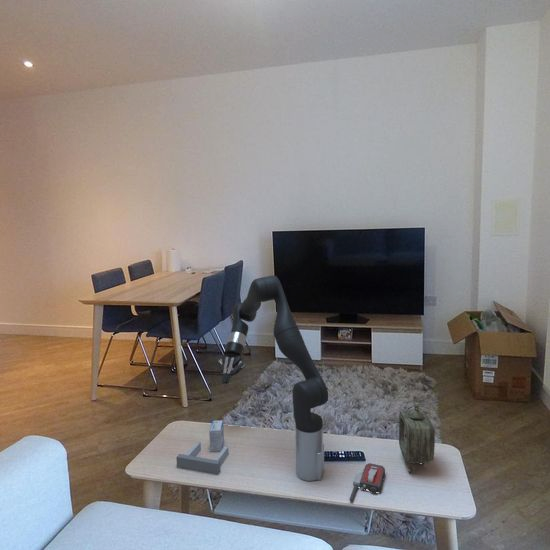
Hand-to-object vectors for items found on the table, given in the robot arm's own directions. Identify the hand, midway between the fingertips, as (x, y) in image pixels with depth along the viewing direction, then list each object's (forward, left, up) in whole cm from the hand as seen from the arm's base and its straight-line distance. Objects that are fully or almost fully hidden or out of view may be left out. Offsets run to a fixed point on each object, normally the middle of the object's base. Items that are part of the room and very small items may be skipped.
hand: (224, 383), depth 165 cm
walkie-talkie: (-58, +18, -22) cm, 65 cm away
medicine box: (0, +9, -22) cm, 24 cm away
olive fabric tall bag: (-73, +1, -22) cm, 76 cm away
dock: (0, +19, -22) cm, 29 cm away
